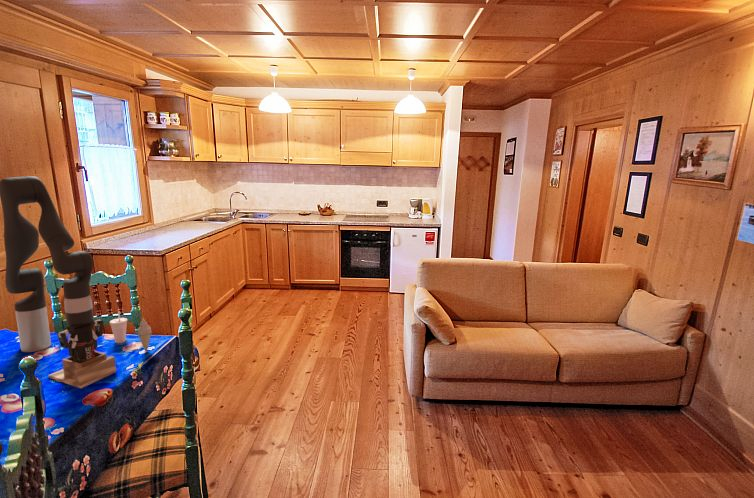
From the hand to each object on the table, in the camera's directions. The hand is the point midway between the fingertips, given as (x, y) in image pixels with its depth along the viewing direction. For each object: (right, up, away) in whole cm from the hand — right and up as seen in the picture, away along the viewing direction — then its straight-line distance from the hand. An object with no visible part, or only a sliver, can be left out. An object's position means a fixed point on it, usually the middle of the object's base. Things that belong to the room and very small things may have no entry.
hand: (84, 352), depth 132 cm
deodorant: (0, -5, +1) cm, 5 cm away
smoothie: (-7, -3, +29) cm, 30 cm away
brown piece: (-2, -9, +2) cm, 9 cm away
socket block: (0, -8, +1) cm, 8 cm away
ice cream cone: (+9, -6, +21) cm, 24 cm away
